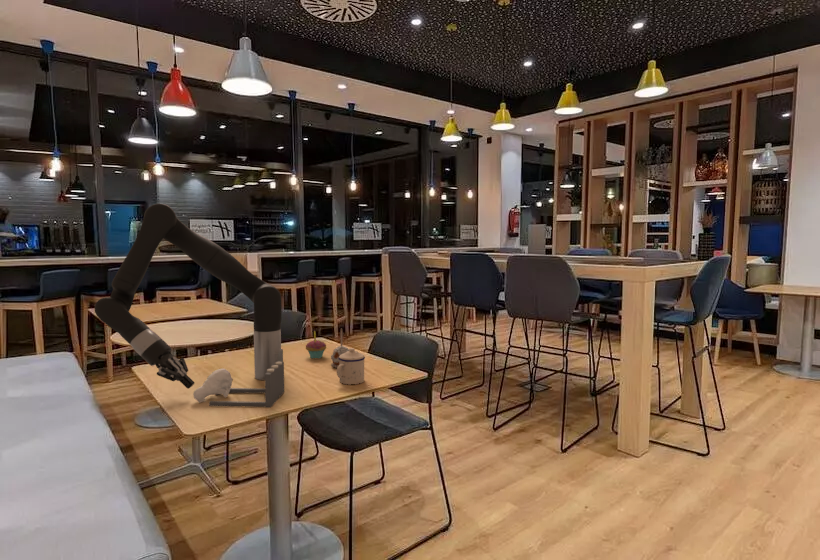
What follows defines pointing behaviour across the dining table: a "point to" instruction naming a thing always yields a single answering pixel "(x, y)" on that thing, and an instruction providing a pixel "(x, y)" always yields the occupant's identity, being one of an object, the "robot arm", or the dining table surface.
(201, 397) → the cream figurine
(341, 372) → the teacup with lid
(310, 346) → the cupcake
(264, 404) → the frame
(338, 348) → the decorative ornament
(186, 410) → the dining table surface
